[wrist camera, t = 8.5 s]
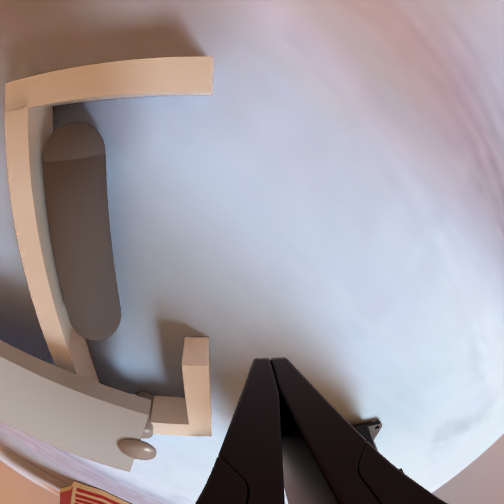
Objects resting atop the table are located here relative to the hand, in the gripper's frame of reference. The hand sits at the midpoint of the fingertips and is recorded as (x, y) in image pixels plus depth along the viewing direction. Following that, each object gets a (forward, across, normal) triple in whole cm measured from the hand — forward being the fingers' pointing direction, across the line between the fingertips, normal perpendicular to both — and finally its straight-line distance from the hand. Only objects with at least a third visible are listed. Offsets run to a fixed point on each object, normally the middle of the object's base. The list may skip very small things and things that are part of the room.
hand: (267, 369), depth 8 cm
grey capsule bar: (+10, +8, 0) cm, 13 cm away
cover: (+6, +16, +10) cm, 20 cm away
